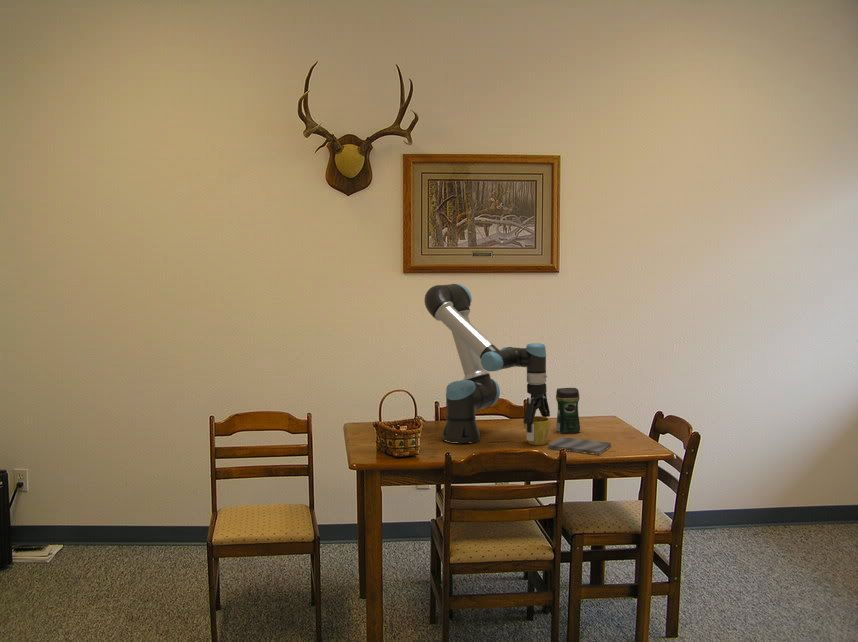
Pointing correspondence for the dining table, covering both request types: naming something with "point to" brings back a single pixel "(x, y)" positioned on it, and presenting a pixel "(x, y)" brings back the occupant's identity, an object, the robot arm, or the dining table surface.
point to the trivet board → (579, 445)
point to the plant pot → (540, 430)
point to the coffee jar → (567, 410)
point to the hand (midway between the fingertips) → (537, 436)
